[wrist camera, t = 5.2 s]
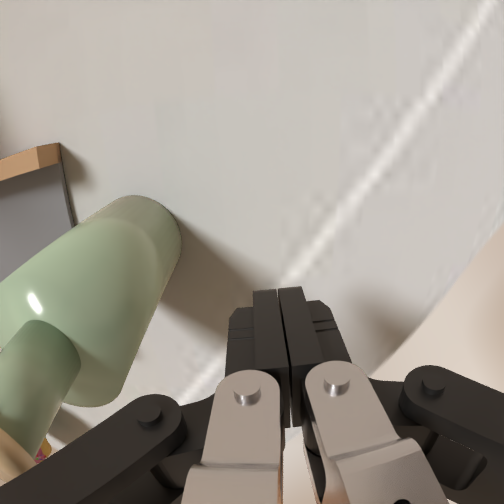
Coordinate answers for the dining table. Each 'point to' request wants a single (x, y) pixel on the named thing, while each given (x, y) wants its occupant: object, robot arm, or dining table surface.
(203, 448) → the robot arm
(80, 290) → the bottle
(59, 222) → the wooden shallow tray
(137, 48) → the dining table surface
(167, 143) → the dining table surface
